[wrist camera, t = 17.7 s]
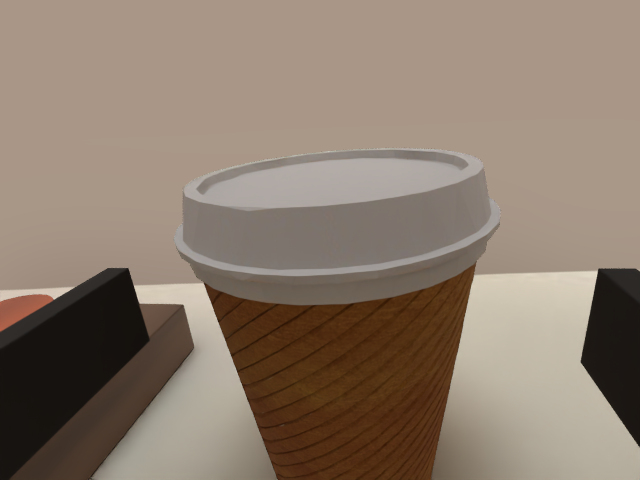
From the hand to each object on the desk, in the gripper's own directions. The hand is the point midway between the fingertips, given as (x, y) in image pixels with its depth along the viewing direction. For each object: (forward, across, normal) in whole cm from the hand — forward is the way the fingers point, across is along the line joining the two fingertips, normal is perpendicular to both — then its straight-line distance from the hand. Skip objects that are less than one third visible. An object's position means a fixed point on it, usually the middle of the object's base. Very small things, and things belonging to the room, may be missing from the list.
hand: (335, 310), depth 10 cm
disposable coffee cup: (+2, 0, -8) cm, 9 cm away
